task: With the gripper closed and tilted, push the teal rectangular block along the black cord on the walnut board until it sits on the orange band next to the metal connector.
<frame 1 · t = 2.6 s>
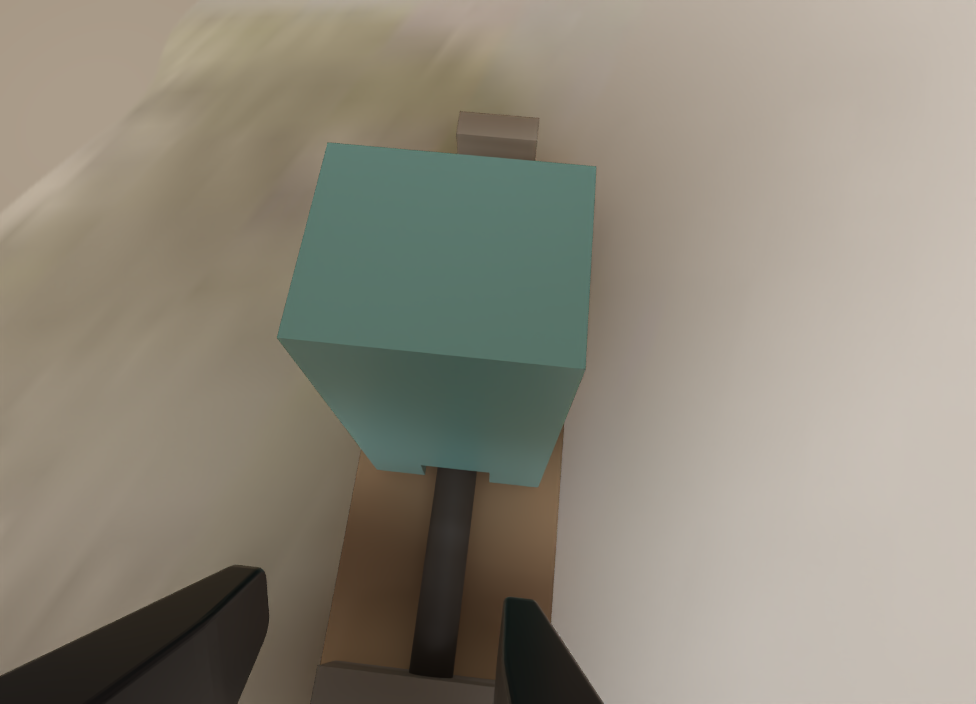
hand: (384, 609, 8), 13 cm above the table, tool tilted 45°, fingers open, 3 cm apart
teal rectangular block: (458, 357, 16), point 7 cm above the table, slide at 0.0 cm
cord board: (469, 411, 22), on the table
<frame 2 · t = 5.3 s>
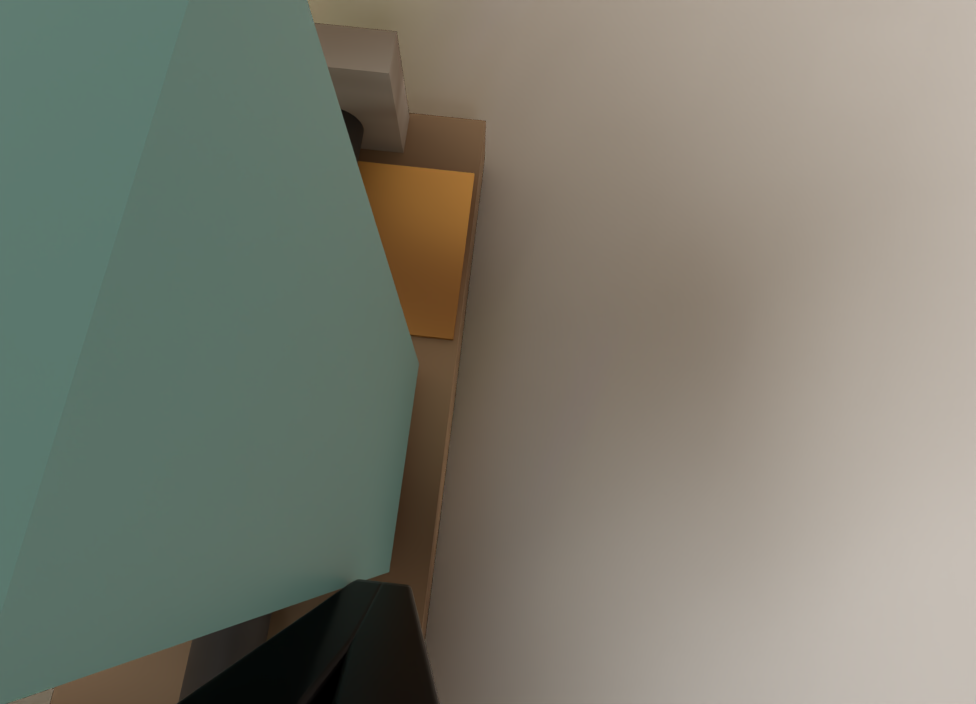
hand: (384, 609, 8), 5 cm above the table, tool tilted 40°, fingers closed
teal rectangular block: (147, 387, 7), point 7 cm above the table, slide at 2.3 cm, touching gripper
cord board: (288, 533, 14), on the table
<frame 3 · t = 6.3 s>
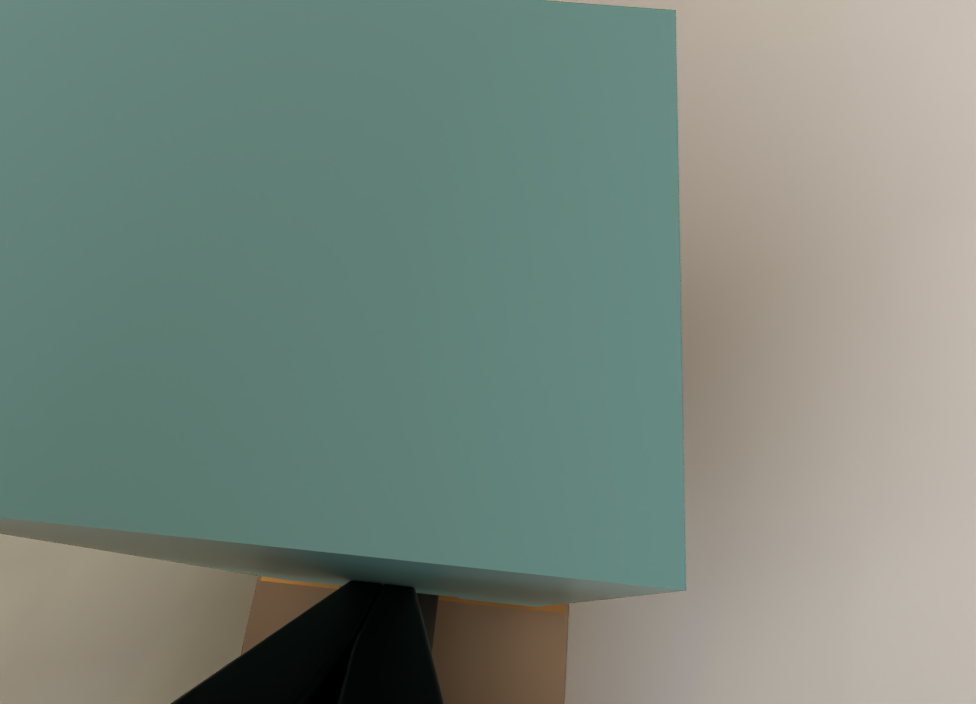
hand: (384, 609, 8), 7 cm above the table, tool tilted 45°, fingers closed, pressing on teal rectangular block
teal rectangular block: (390, 427, 9), point 7 cm above the table, slide at 7.1 cm, touching gripper
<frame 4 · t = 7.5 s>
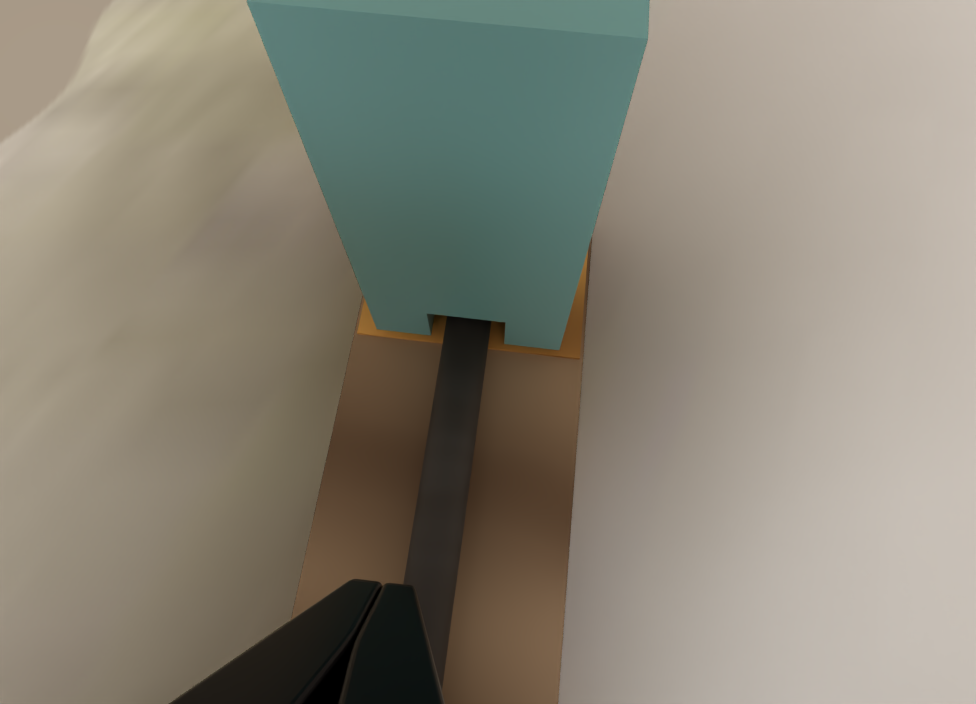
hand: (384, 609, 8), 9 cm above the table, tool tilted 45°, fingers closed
teal rectangular block: (473, 158, 13), point 7 cm above the table, slide at 7.0 cm
cord board: (448, 509, 17), on the table
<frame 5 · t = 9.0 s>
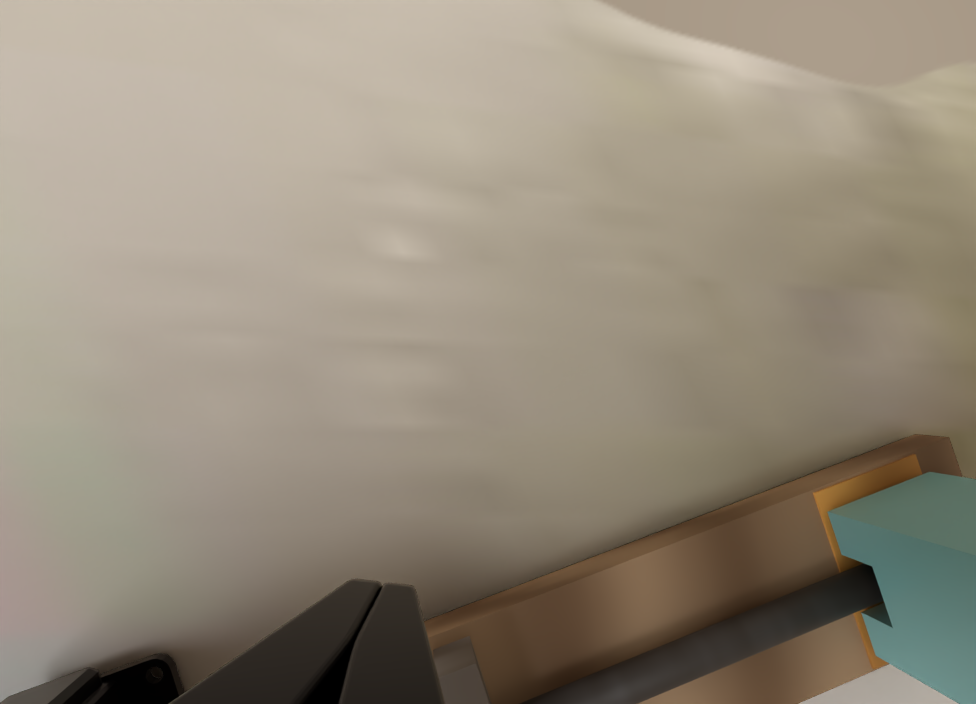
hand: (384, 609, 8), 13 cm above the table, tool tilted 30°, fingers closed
cord board: (708, 610, 22), on the table
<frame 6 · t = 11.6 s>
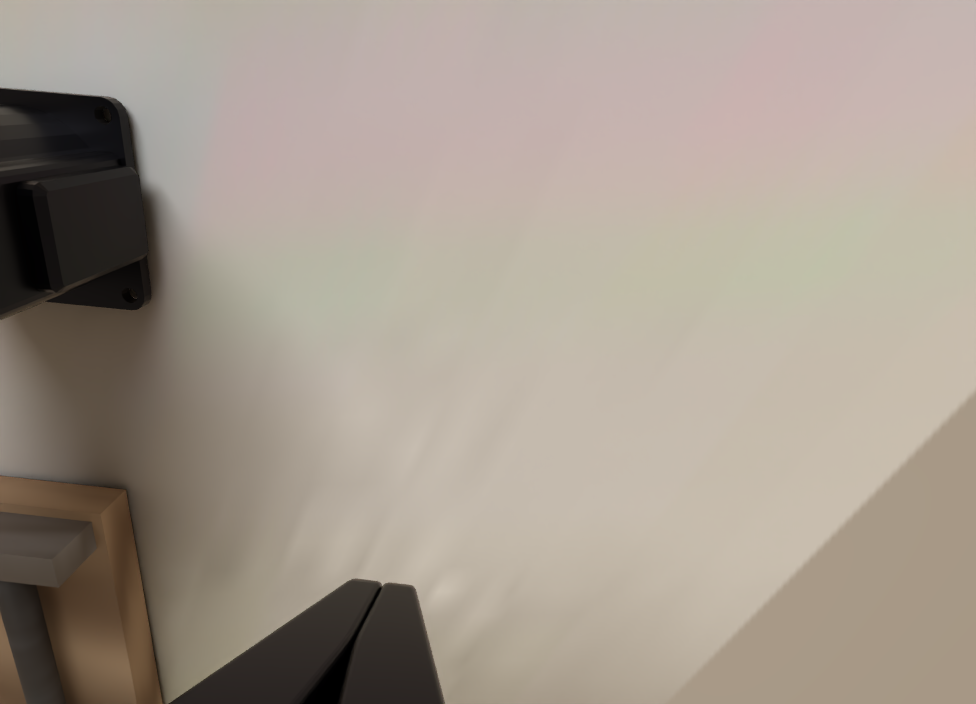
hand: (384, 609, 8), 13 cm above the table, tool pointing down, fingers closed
cord board: (87, 667, 28), on the table
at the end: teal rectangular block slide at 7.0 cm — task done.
